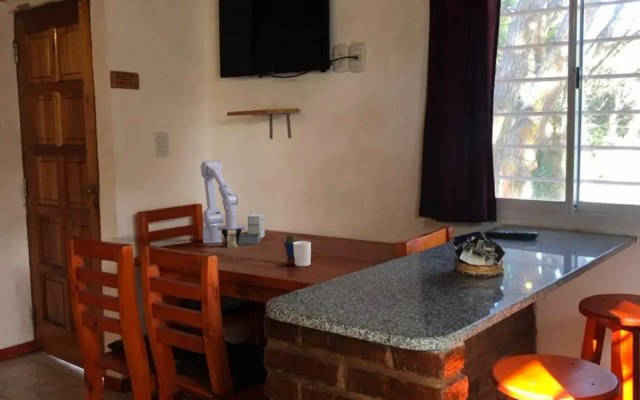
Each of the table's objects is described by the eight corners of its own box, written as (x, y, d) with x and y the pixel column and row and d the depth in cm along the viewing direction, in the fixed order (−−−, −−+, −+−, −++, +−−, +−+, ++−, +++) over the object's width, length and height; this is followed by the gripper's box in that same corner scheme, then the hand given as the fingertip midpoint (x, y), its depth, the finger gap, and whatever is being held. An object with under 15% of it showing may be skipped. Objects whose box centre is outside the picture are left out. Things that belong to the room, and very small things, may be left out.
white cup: (301, 262, 297) (301, 240, 295) (315, 264, 292) (314, 241, 290) (290, 265, 291) (289, 243, 289) (303, 267, 286) (302, 244, 284)
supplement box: (247, 238, 362) (246, 215, 361) (253, 235, 369) (252, 213, 368) (260, 238, 360) (259, 215, 359) (265, 236, 367) (264, 213, 366)
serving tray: (227, 245, 343) (227, 238, 343) (231, 240, 357) (231, 234, 356) (258, 244, 343) (257, 237, 342) (260, 239, 357) (260, 233, 356)
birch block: (227, 247, 337) (226, 236, 336) (228, 246, 341) (228, 234, 341) (236, 247, 337) (235, 236, 336) (237, 245, 341) (236, 234, 341)
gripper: (215, 219, 333) (217, 245, 335) (244, 218, 333) (245, 245, 335) (217, 217, 340) (219, 243, 342) (245, 216, 340) (246, 242, 342)
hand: (232, 244), depth 339 cm, fingers open, 5 cm apart
